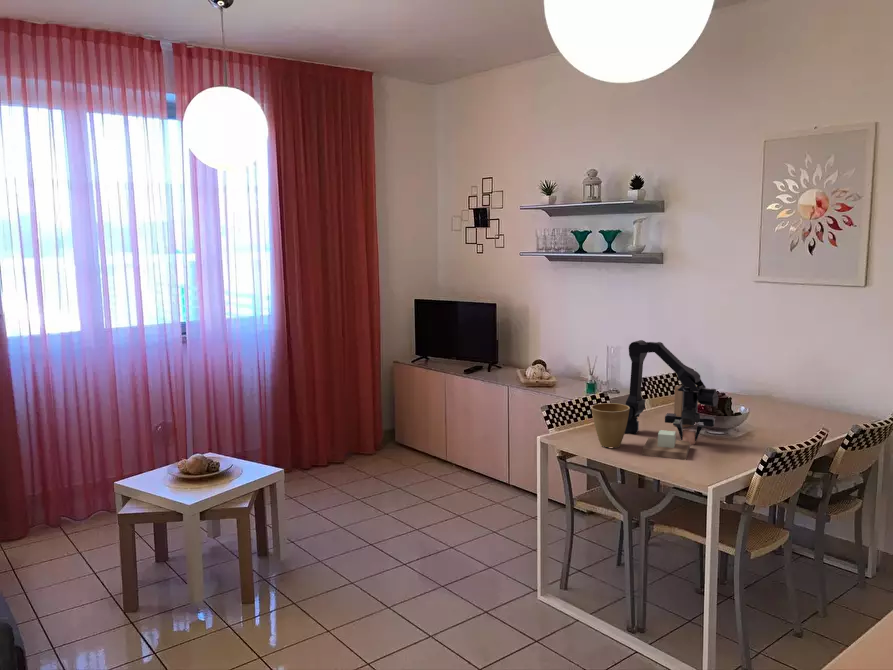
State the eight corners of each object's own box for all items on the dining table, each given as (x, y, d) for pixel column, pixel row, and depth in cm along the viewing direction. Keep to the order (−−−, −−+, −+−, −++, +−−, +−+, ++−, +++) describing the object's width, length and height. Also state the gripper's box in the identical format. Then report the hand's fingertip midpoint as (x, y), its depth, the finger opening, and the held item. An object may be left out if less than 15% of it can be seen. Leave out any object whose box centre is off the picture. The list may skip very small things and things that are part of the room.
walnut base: (642, 455, 279) (642, 448, 279) (648, 443, 294) (648, 437, 293) (686, 459, 273) (686, 453, 272) (689, 447, 287) (690, 441, 287)
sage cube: (657, 446, 281) (657, 434, 281) (659, 442, 287) (659, 430, 286) (673, 448, 279) (674, 435, 278) (675, 443, 284) (675, 431, 284)
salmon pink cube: (681, 443, 293) (681, 431, 292) (683, 440, 297) (683, 428, 297) (694, 445, 291) (694, 433, 290) (696, 441, 295) (696, 429, 294)
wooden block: (687, 423, 323) (689, 383, 321) (695, 425, 319) (697, 385, 317) (673, 426, 319) (674, 386, 316) (681, 428, 315) (682, 388, 313)
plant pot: (624, 440, 299) (625, 402, 297) (632, 451, 284) (633, 411, 282) (588, 440, 299) (588, 402, 297) (594, 451, 285) (595, 411, 282)
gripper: (663, 405, 288) (662, 443, 290) (713, 409, 281) (712, 448, 283) (666, 399, 298) (665, 436, 300) (715, 402, 291) (713, 440, 293)
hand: (688, 440), depth 294 cm, fingers closed on salmon pink cube, 5 cm apart
